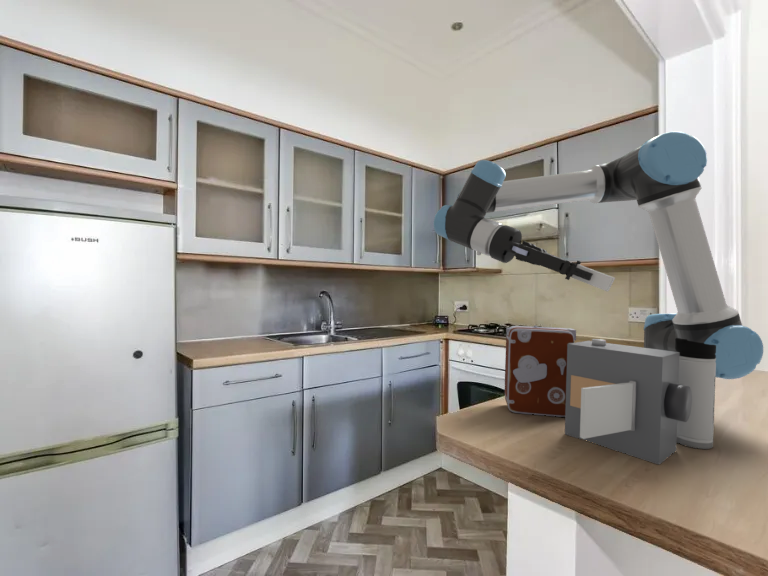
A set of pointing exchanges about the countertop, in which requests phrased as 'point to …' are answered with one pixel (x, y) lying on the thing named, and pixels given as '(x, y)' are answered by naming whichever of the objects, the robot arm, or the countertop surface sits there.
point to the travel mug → (697, 392)
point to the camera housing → (653, 395)
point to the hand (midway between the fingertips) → (611, 284)
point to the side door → (607, 409)
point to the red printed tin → (537, 369)
